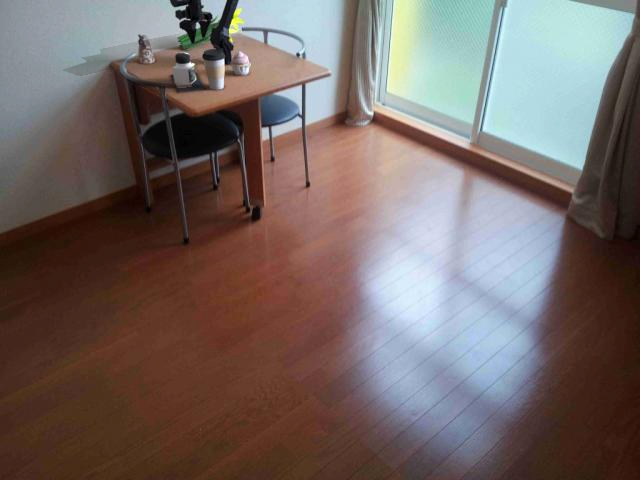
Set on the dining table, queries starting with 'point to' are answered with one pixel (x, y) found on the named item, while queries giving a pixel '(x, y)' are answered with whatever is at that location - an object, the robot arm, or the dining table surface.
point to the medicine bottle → (184, 69)
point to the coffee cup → (214, 68)
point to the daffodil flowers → (208, 32)
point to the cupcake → (240, 64)
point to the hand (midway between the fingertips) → (198, 40)
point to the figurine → (145, 50)
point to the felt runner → (195, 85)
